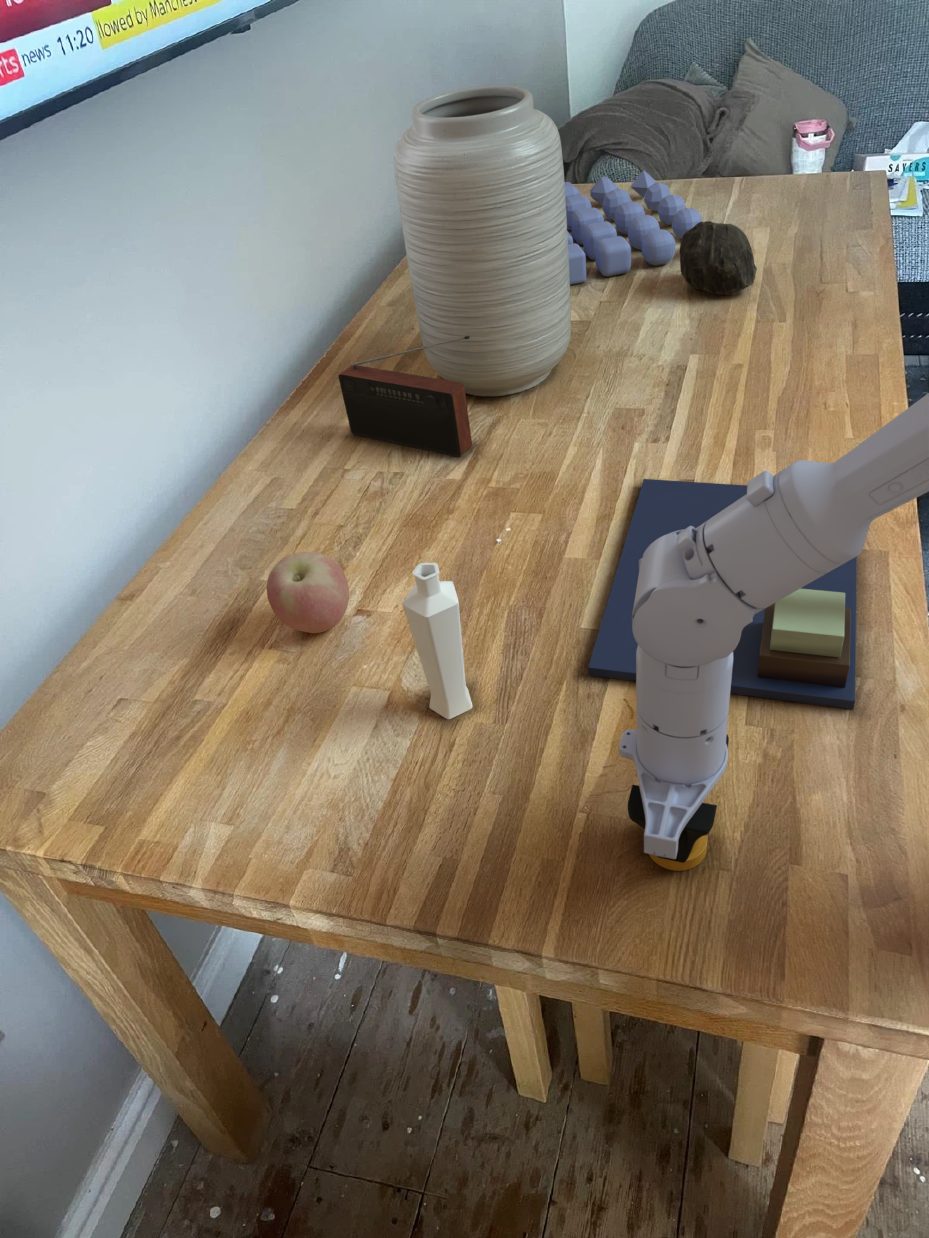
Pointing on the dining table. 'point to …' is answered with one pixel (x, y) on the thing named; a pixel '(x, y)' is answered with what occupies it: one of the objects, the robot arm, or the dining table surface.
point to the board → (616, 647)
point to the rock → (717, 258)
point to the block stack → (807, 639)
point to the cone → (693, 859)
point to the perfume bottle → (438, 639)
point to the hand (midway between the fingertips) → (676, 831)
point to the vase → (486, 237)
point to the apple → (308, 592)
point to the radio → (406, 408)
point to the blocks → (623, 226)
